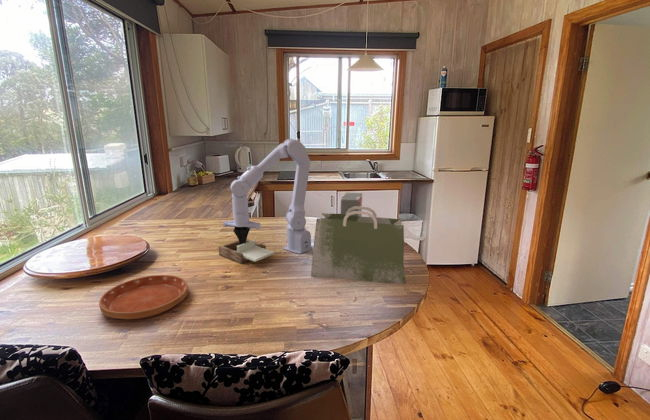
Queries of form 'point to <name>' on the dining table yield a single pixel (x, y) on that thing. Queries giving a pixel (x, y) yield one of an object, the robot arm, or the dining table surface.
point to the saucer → (143, 297)
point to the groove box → (235, 251)
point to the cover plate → (253, 251)
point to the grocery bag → (359, 247)
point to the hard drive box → (351, 202)
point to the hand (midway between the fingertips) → (243, 245)
